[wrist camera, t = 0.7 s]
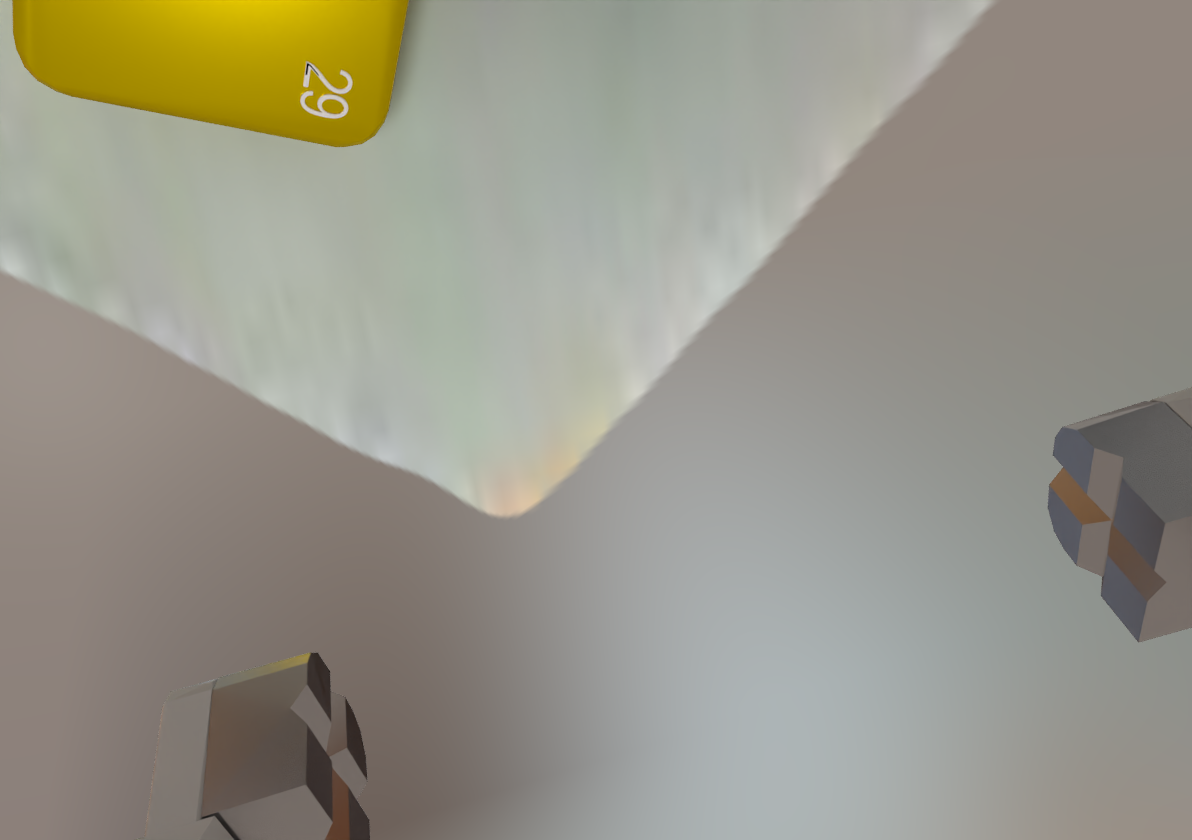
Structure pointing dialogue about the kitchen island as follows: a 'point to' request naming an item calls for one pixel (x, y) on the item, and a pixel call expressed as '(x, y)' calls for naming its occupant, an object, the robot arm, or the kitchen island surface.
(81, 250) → the kitchen island surface
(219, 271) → the kitchen island surface
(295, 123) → the element tile
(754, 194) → the kitchen island surface
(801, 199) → the kitchen island surface
